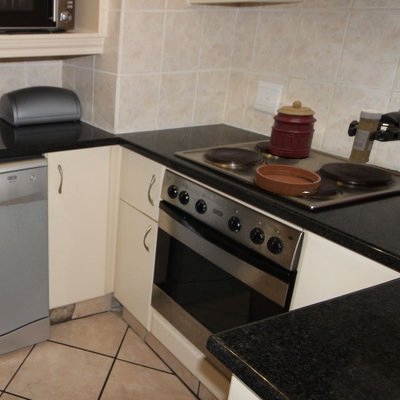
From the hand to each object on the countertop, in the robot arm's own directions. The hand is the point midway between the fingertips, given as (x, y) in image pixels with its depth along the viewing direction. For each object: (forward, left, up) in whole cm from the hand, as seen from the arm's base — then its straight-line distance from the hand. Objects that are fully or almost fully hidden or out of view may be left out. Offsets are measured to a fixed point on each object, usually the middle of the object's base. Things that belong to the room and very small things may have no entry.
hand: (360, 134), depth 122 cm
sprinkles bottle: (0, -3, -8) cm, 8 cm away
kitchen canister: (+29, -22, -16) cm, 40 cm away
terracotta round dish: (+12, +8, -16) cm, 22 cm away
